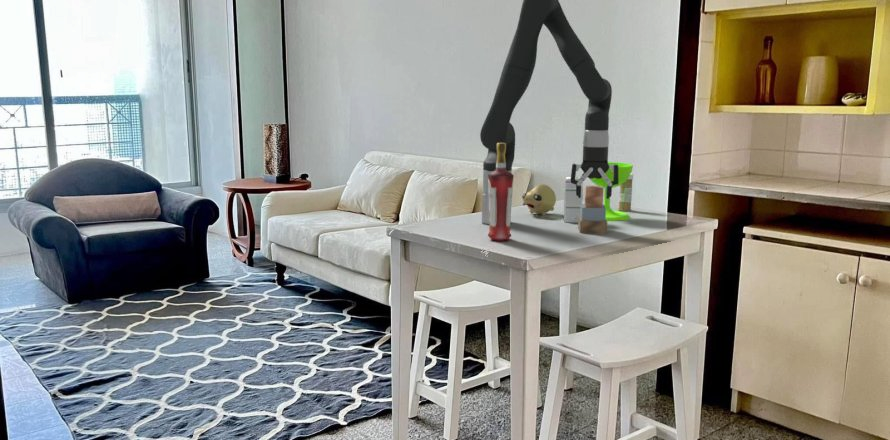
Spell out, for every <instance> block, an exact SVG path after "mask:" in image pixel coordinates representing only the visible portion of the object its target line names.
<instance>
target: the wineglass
mask: <svg viewBox="0 0 890 440" xmlns="http://www.w3.org/2000/svg"><path fill="white" fill-rule="evenodd" d="M614 164H616V165H618V184H617V185H613V186H612V189H613V188H616V187H620V185H621V184H623V183H624V182H625V181H626V180H627V179H628V178H629V176H630V174H632V172H633V169H634V168H633V166H634V165H633V164H632V163H631V164H630V163H625V162H613V161H608V165H614ZM605 174H606V176H607V177H608V178H609V180H610V181H613V172H612V171H611V169H610V168H609V169H608V171H607V172H606V173H605ZM588 179H589V180H590V181H591V182H592V183H593V184H594V185H595V186H602V187H603V188H604V193H603V205H605V207H606V218H605V219H606V221H607V222H620V221H619V220H623V221H628V220H630V219H631V216H630V215H629V214H628V213H627V212H625V211H620V210H612V208H611V205H610V203H611V197H609V199H607V198H606V189H607V183H606V181H605V180H604V179H603V177H602V178H600V179H597V178H592V179H590V178H588Z"/></svg>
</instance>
